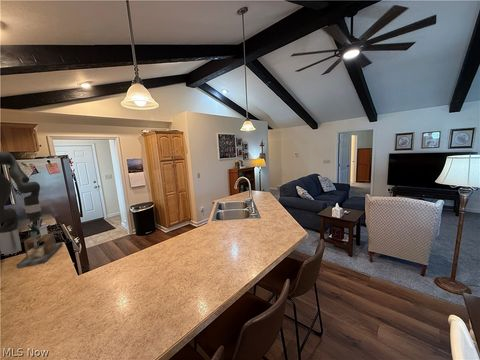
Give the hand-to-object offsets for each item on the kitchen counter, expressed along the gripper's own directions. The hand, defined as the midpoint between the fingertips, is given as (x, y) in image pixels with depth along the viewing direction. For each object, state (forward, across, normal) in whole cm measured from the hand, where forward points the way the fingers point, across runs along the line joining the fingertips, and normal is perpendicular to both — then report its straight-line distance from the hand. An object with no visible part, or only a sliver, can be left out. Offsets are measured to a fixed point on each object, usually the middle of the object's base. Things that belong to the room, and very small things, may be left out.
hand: (37, 234), depth 141 cm
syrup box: (+17, -36, -14) cm, 42 cm away
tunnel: (+17, -2, 0) cm, 17 cm away
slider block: (+14, +4, 0) cm, 14 cm away
